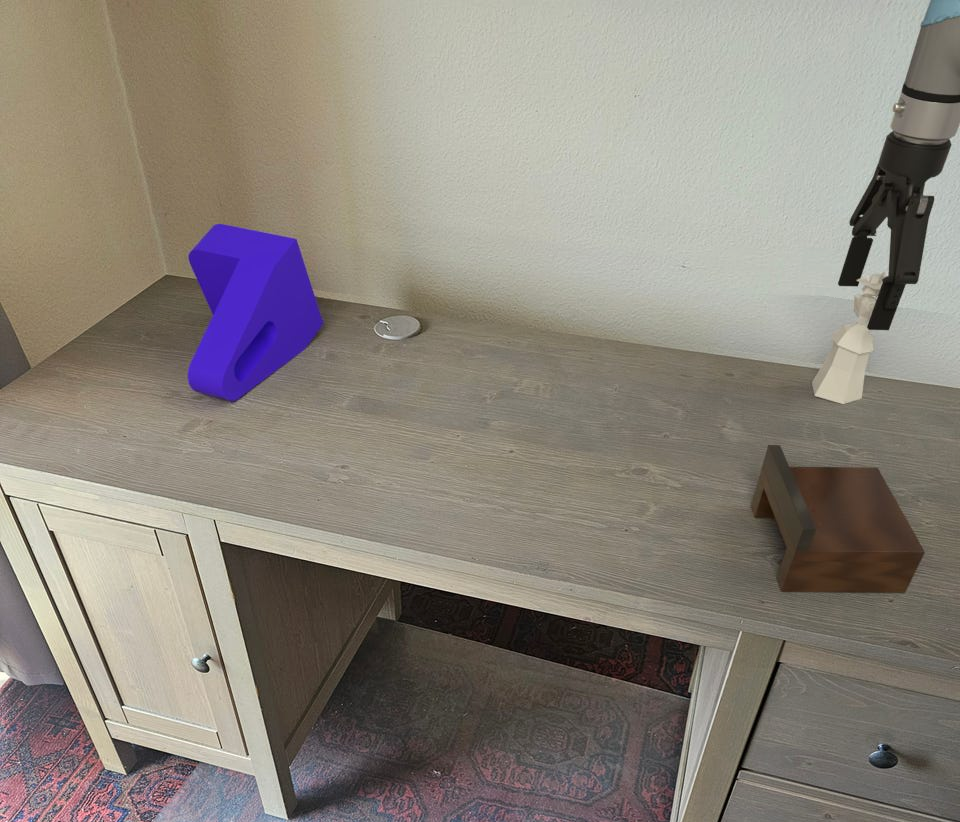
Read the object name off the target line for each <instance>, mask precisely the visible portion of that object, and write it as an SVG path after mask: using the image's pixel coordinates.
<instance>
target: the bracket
mask: <svg viewBox="0 0 960 822" xmlns="http://www.w3.org/2000/svg"><path fill="white" fill-rule="evenodd" d="M297 239H298V238H295V237H289V236H284V235H279V234H275V233H269V232H264V231H260V230H259V231H258V230H254V229H248V228H244V227H239V226H234V225H230V224H224V223H215V224H214V225H212V227H211V228H210V229H209V230H208V231H207V232H206V233H205V234H204V235H203V236H202V238H201V239H200V240H199V241H198V242H197V243H196V244H195V246H194V247H193V249H191V251H189V253H188V262H189V265H190V267H191V269H192V272H193V273H194V276H195V278H196V281H197V283H198V285H199V287H200V289H201V291H202V294H203V296H204V299H205V300H206V302H207V306H208V307H209V309H210V311H211V314H212V317H211V319H210V322H209V324H208V326H207V327H206V330H205V332H204V334H203V336H202V338H201V340H200V342H199V345H198V347H197V349H196V351H195V352H194V355H193V357H192V359H191V362H190V364H189V366H188V369H187V381H188V384H189V387H190V388H191V390H192V391H194V392H196V393H200V394H204V395H207V396H211V397H214V398H218V399H221V400H225V401H230V402H234V401H237V400H239V399H240V398H241V397H242V396H244V395H245V394H246V393H248V392H249V391H251V390H252V389H253V388H254V387H256V386H258V385H259V384H260V383H262V382H264V381H265V379H267V378H268V377H270V376H271V375H273V374H274V373H275V372H276V371H278V370H279V369H280V368H281V367H283V366H285V365H286V364H287V363H288V362H289V361H291V360H292V359H294V358H295V357H296V356H298V355H299V354H301V353H302V352H304V350H305V349H306V348H307V347H308V345H309V344H310V343H311V341H312V340H313V339H314V337H315V336H316V334H317V333H318V332H319V331H320V329H321V328H322V326H323V325H324V320H323V317H322V314H321V311H320V308H319V304H318V302H317V299H316V295H315V292H314V289H313V286H312V283H311V279H310V277H309V274H308V270H307V267H306V263H305V260H304V258H303V255H302V252H301V248H300V246H299V242H298V240H297Z"/></svg>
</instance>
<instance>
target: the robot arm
mask: <svg viewBox="0 0 960 822" xmlns="http://www.w3.org/2000/svg"><path fill="white" fill-rule="evenodd" d="M919 27H920V29H919V32H918V36H917V38H916V42H915V45H914V48H913V52H912V56H911V59H910V62H909V65H908V69H907V72H906V76H905V79H904V82H903V84H902V87H901V91H900V95H899V98H898V101H897V102H896V103H894V104H893V106H892V111H893V116H892V120H891V123H890V129H891V130H892V131H891V132H889V133H888V134H886V137H885V140H884V143H883V145H882V146H883V147H882V149H881V153H880V156H879V159H878V162H877V166H876V168H875V170H874V173H873V177H872V178H871V180H870V182H869V184H868V185H867V188H866V189H865V191H864V193H863V195H862V197H861V199H860V200H859V202H858V204H857V206H856V207H855V210H854V211H853V213H852V215H851V216H850V218H849V221H848V223H849V226H850V227H852V230H851V236H852V237H851V240H850V244H849V247H848V250H847V253H846V257H845V260H844V263H843V265H842V270H841V273H840V276H839V279H838V282H837V285H838V287H859V285H860V282H858V281H857V280H858V279H860V278H862V275H863V272H864V270H865V266H866V264H867V260H868V257H869V254H870V251H871V248H872V245H873V242H874V239H873V237H876V236H877V229H878V228H879V227H880V226H881V224H883V222H884V221H885V220H886V219H887V222H886V224H887V228H888V229H890V240H889V241H890V242H889V257H888V275H886V277H885V278H883V279H882V286H881V289H880V291H879V294H878V296H877V298H876V303H875V306H874V308H873V311H872V314H871V317H870V320H869V321H868V323H867V325H866V327H867V328H868V330H869V331H890V329H891V325H892V323H893V320H894V317H895V315H896V312H897V309H898V307H899V304H900V301H901V299H902V296H903V293H904V290H905V288H906V285H916V284H918V282H919V280H920V279H919V278H920V272H921V267H922V263H923V262H922V260H923V256H924V250H925V243H926V237H927V231H928V225H929V221H930V216H931V212H932V209H933V206H934V202H935V196H934V195H924V192H925V191H924V190H925V186H926V183H927V181H928V180H930V179H932V178H935V177H938V176H939V175H941V173H942V172H943V169H944V166H945V164H946V162H947V159H948V156H949V153H950V151H951V147H952V146H953V145H952V142H951V140H950V139H952V138H953V137H955V136H956V135H957V133H958V130H959V126H960V0H929V3H928V7H927V9H926V12H925V14H924V18H923V20H922V21H921V22H920V26H919Z"/></svg>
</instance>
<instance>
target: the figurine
mask: <svg viewBox="0 0 960 822" xmlns="http://www.w3.org/2000/svg"><path fill="white" fill-rule="evenodd" d="M865 276H866V278H862V277H861V278H860V279H858V280H857V281H858V282H859V284H862V285H863V286H862V288H861V291H862V293H863V294H861V293H857V294H855V295H854V296H853V297H854V298H853V300H854V301H853V309H852V311H853V312H854V314H855V315H856V317H857V318H858V319H857V321H856V322H851V323H844V324H843V325H842V326H841V327H840V328H839V329H838V330H837V331H836V332H835V333H834V334H832V335H831V338H832V340H833V341H832V344H831V346H830V349H829V351H828V354H827V356H826V358H825V360H824V361H823V363H822V365H821V366H820V367H819V370H818V371H817V373H816V374H815V377H814V378H813V380H812V381H811V386H812V391H813V395H814V397H817V398H821V399H824V400H827V401H831V402H834V403H837V404H841V405H845V404H849V403H852V402H855V401H859V400H862V398H863V392H864V391H863V390H864V383H865V374H866V369H867V366H868V362H869V358H870V353H871V352H874V347H875V345H874V339H873V338H874V337H873V333H872V332H871V330H868V328H867V325H868V323H869V320H870V317H871V314H872V311H873V308H874V306H875V303H876V300H877V297H878V294H879V291H880V289H881V286H882V283H883V282H882V279H883V278H885V277H886V276H887V273H886V271H883V272H882V273H878V272H876V273H873V274H871V275H870V276H869V275H868V273H865Z"/></svg>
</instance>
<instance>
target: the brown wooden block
mask: <svg viewBox="0 0 960 822" xmlns="http://www.w3.org/2000/svg"><path fill="white" fill-rule="evenodd" d="M761 465H762V466H761V469H760V473H759V476H758V478H757V479H758V480H757V483H756V486H755V490H754V494H753V497H752V501H751V503H750V508H751V512H752V514H753V517H754V518H755V519H775V521H776V524H777V526H778V529H779V532H780V534H781V536H782V538H783V542H784V544H785V547H786V548H785V552H784V554H783V558H782V561H781V563H780V566H779V569H778V572H777V575H776V580H777V583H778V586H779V590H780V592H781V593H853V594H854V593H855V594H856V593H861V594H862V593H863V594H865V593H866V594H867V593H868V594H905V593H906V592H907V590H908V588H909V586H910V584H911V581H912V580H913V578H914V576H915V574H916V572H917V569H918V567H919V565H920V564H921V561H922V560H923V558H924V556H925V554H926V551H925V549H924V548H923V545H922V544H921V542H920V540H919V539H918V537H917V535H916V533H915V531H914V530H913V528H912V526H911V525H910V523H909V521H908V519H907V517H906V515H905V514H904V512H903V509H902V508H901V507H900V505H899V503H898V501H897V499H896V498H895V496H894V494H893V493H892V491H891V489H890V487H889V485H888V484H887V481H886V480H885V478H884V476H883V475H882V473H881V470H880V469H879V468H878V467H873V466H872V467H864V466H863V467H861V466H860V467H859V466H858V467H857V466H789V462H788V461H787V458H786V456H785V453H784V451H783V449H782V447H781V445H780V444H768V445H767V447H766V451H765V455H764V458H763V462H762V464H761Z"/></svg>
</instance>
